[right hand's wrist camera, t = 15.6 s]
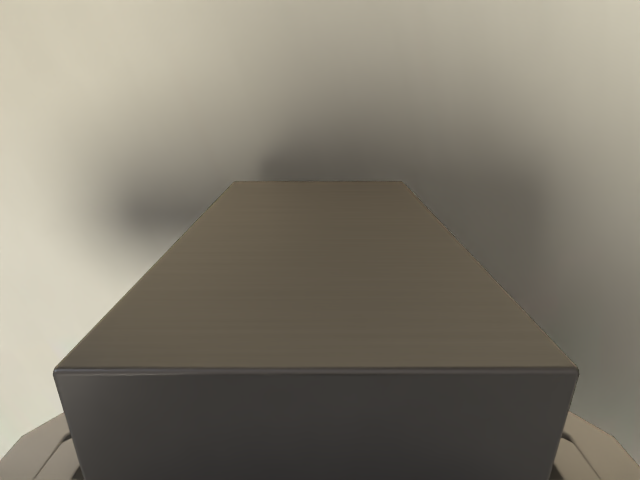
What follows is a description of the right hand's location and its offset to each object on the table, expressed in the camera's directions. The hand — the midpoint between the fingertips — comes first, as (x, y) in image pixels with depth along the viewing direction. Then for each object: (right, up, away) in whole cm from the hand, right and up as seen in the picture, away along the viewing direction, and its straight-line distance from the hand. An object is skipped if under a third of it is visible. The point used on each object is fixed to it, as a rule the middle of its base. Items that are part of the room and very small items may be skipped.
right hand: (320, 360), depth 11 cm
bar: (0, -7, +7) cm, 9 cm away
